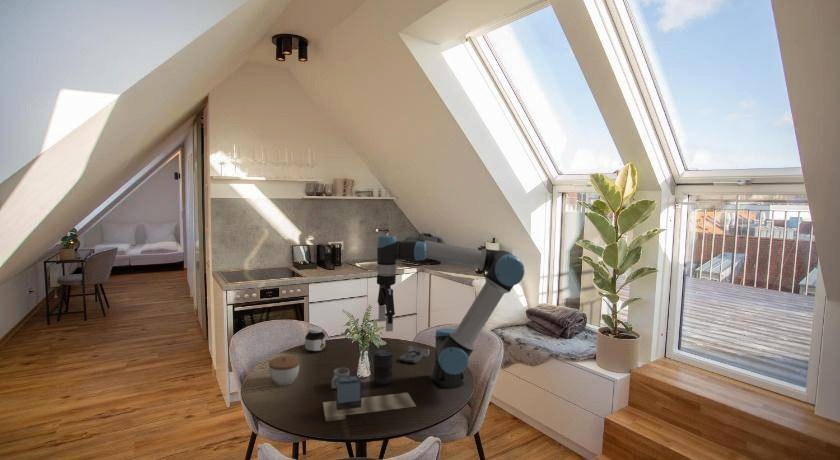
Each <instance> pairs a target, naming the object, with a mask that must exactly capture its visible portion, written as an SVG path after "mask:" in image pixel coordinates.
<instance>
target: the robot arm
mask: <svg viewBox="0 0 840 460" xmlns="http://www.w3.org/2000/svg"><path fill="white" fill-rule="evenodd" d="M376 253H377V254H376V264H377V265H376V266H375V269H376V273H377V275H376V284H377V285H379V287H378V296H377V301H376V302H377V303H378V322H385V332H387V333H389V332H394V316H395V313H396V312H395V303H394V289H392V287H391V286H393V285H396V283H397V281H396V279H397V277H396V276H397V275H396V273H397V272H396V271H397V261H399V260H400V261H401V260H402V261H425V260H426V259H430V260H435V261H439V262H444V263H445V262H446V263H451V264H456V265H462V266H467V267H473V268H478V269H479V271H480V272H481V271H482V272H486V274H485V275H484V278H485V279H484V280H485V283H484V285H483V286H482V288H481V289H480V290H479V292H478V294H477V296H476V298H474V300H473V302H472V304H471V305H470V307H469V309H468V310H467V312H466V313H465V315H464V316H463V318H462V319H461V321H460V323H459V324H458V326H457V328H456V329H455V328H440V329H437V330H436V331H435V343H434V344H435V348H434V349H435V351H434V356H435V357H434V364H433V367H432V370H431V373H430V381H431V382H432V384H433V385H434V386H436V387H440V388H447V389H448V388H449V389H450V388H451V389H452V388H453V389H454V388H459V387H462V386H463V385H464V384H465V383H466V382H465V380H466V379H465V378H466V377H465V376H466V375H465V373H464V371H465V370H466V369H467V368H468V366H469V361H470V360H469V358H470V356H471V355H472V353H473V352H474V349H475V345H474V342H475V341H476V339H477V338H478V336H479V334H481V331H482V330H483V328H484V327H485V325H486V323H487V322H488V321H489V319H490V317H491V316H492V314H493V312H494V311H495V310H496V307H497V306H498V304H499V302H500V301H501V299H502V298H503V296H504V295H505V294H508V293H510V292H511V290H512V289H513V287H514V286H516V285H518V284H520V283H521V281H522V280H523V278H524V277H525V266H524V263H523V262H522V260H521V259H520V258H519V257H518V256H516V255H514V254H512V253H510V252H509V251H505V250H497V249H488V248H483V249H481V250H480V249H475V248H470V247H464V246H458V245H453V244H448V243H443V242H437V241H431V240H426V239H421V238H416V237H414V236H409V237H406V238H405V239H404V240H403V241H401V240H398V239H397V237H396V236H395V235H390V234H389V235H386V234H385V235H380V236H379V237H378V238H377V245H376ZM396 260H397V261H396Z"/></svg>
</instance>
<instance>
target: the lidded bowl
mask: <svg viewBox="0 0 840 460" xmlns="http://www.w3.org/2000/svg"><path fill="white" fill-rule="evenodd" d="M300 361H301V360H300V359H299V357H296V356H292V355H283V356H278V357H275V358H272V359H270V360H269V362H268V366H269V367H268V368H269V375H270V378H271V379H272V381H274V382H275V384H276V385H278V386H287V385H290V384H292V383H294V381H295V380H296V379H297V377H298V376H299V371H300V364H301V363H300Z"/></svg>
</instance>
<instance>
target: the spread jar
mask: <svg viewBox="0 0 840 460" xmlns="http://www.w3.org/2000/svg"><path fill="white" fill-rule="evenodd" d="M307 331H308V332H307V333H306V335H305V337H304V348H305V350H306V351H308V352H309V353H312V354H316V353H321V352H322V351H323V350H324V349H325V347H326V333H324V331H323V328H322V327H321V326H318V325H317V326H309V327H308V330H307Z"/></svg>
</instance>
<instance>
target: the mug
mask: <svg viewBox="0 0 840 460" xmlns="http://www.w3.org/2000/svg"><path fill="white" fill-rule="evenodd" d="M347 376H350V369H349V368H348V367H338V368H335V369H334V370H333V377H332V378H331V381H330V382H331V389H332V390H334V389H336V390H337V377H347Z"/></svg>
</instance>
